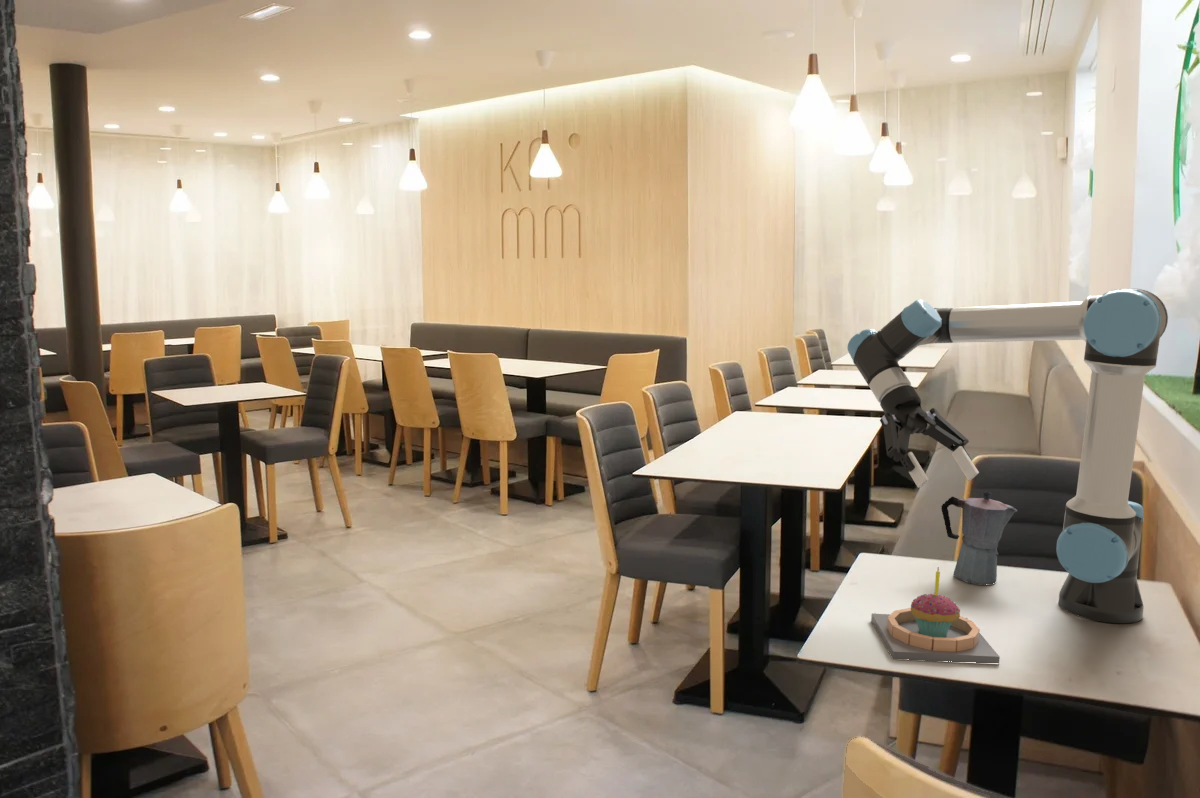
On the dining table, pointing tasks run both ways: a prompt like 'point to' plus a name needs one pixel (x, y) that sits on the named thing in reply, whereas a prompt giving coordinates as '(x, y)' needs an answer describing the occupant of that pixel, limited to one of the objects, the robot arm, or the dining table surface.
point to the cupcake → (934, 612)
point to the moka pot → (978, 536)
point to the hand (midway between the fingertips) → (949, 480)
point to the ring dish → (928, 654)
